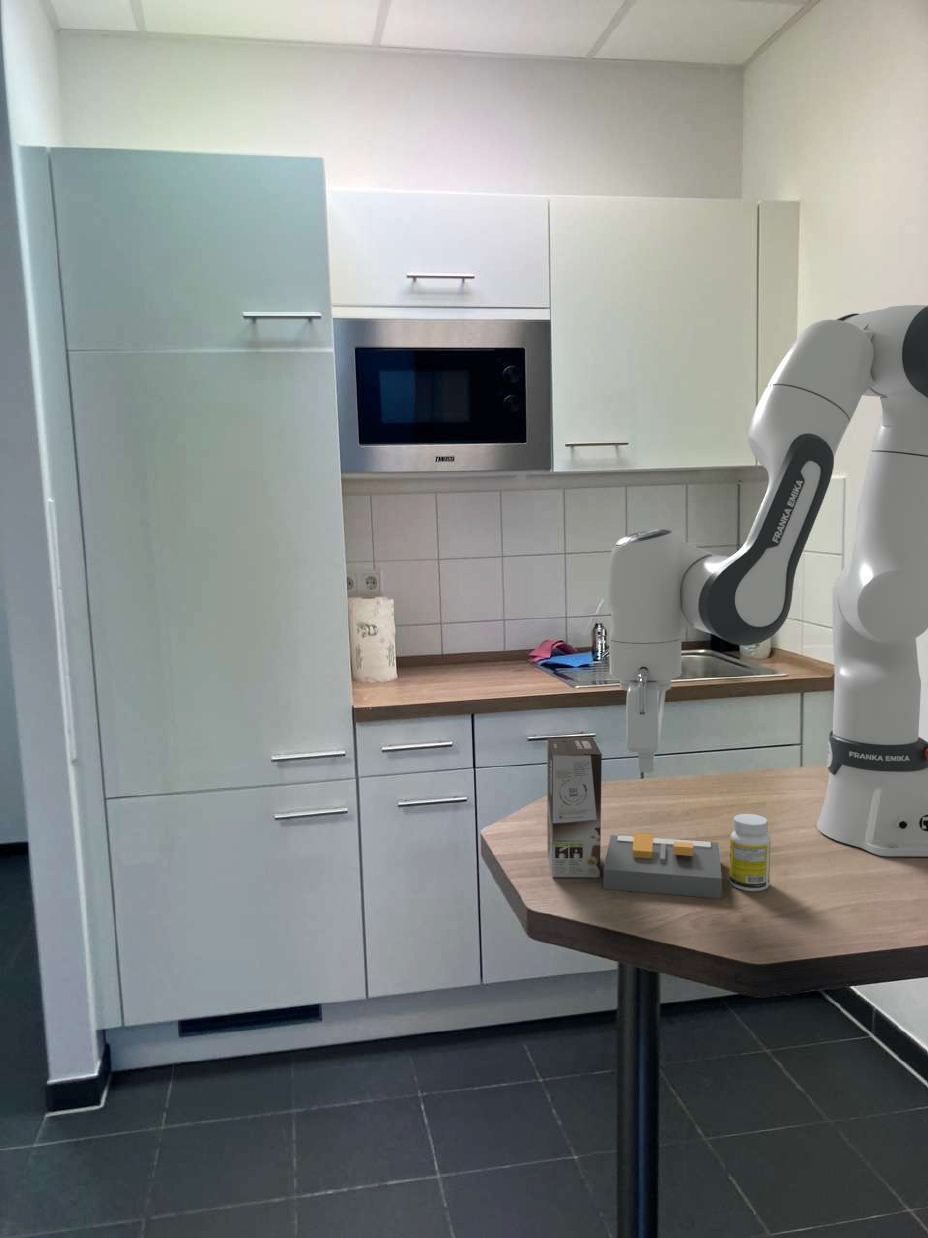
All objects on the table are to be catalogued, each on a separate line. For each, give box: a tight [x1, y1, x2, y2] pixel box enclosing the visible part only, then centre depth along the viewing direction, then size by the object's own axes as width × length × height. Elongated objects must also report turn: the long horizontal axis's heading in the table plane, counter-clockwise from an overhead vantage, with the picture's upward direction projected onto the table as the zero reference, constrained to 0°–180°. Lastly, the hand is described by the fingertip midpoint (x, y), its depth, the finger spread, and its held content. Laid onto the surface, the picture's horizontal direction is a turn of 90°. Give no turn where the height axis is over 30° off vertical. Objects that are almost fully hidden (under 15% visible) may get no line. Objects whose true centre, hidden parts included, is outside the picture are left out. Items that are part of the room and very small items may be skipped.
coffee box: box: [546, 736, 603, 879], centre depth 121 cm, size 9×6×16 cm
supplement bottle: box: [729, 813, 771, 892], centre depth 114 cm, size 5×5×8 cm
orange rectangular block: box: [673, 842, 693, 856], centre depth 117 cm, size 2×4×1 cm, turn 167°
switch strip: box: [602, 834, 723, 899], centre depth 118 cm, size 14×12×3 cm
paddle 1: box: [633, 832, 654, 859], centre depth 118 cm, size 2×4×1 cm, turn 167°
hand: (646, 769), depth 117 cm, fingers closed
